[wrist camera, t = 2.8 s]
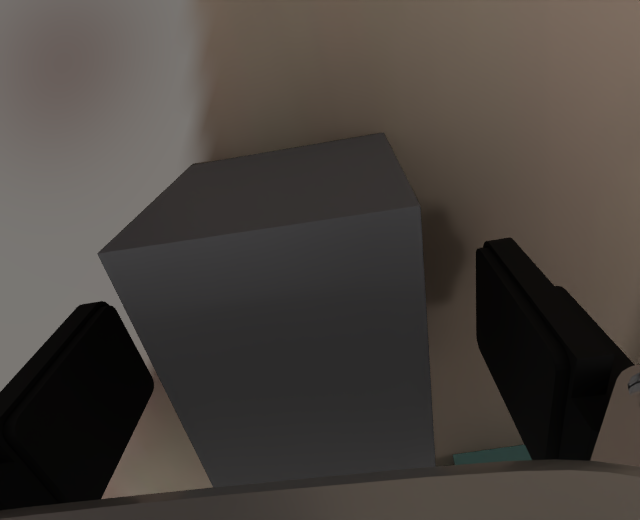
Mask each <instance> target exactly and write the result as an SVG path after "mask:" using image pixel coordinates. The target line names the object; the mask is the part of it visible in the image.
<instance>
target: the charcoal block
mask: <svg viewBox="0 0 640 520" xmlns="http://www.w3.org/2000/svg"><path fill="white" fill-rule="evenodd" d="M98 256H99V258H100V260H101V262H102V264H103V266H104V268H105V270H106V272H107V274H108V276H109V278H110V280H111V282H112V284H113V286H114V288H115V290H116V292H117V294H118V296H119V298H120V300H121V302H122V304H123V306H124V308H125V310H126V312H127V314H128V316H129V318H130V320H131V322H132V324H133V326H134V328H135V330H136V332H137V334H138V336H139V338H140V340H141V342H142V344H143V346H144V348H145V350H146V352H147V354H148V356H149V359H150V361H151V363H152V365H153V367H154V369H155V371H156V373H157V375H158V377H159V379H160V381H161V383H162V385H163V387H164V389H165V391H166V393H167V395H168V397H169V399H170V401H171V403H172V405H173V407H174V409H175V411H176V413H177V415H178V417H179V419H180V421H181V423H182V425H183V427H184V429H185V431H186V433H187V435H188V437H189V439H190V441H191V443H192V445H193V447H194V449H195V451H196V453H197V455H198V457H199V459H200V461H201V463H202V465H203V467H204V469H205V471H206V473H207V475H208V477H209V479H210V481H211V483H212V485H213V487H214V488H215V487H225V486H235V485H245V484H255V483H266V482H276V481H286V480H296V479H307V478H317V477H328V476H338V475H349V474H360V473H370V472H381V471H391V470H402V469H412V468H424V467H436V465H435V448H434V431H433V414H432V397H431V380H430V363H429V345H428V328H427V311H426V294H425V277H424V260H423V242H422V225H421V208H420V204H419V202H418V200H417V198H416V196H415V194H414V192H413V190H412V188H411V186H410V184H409V182H408V180H407V178H406V176H405V174H404V172H403V170H402V168H401V166H400V164H399V162H398V160H397V158H396V156H395V154H394V152H393V150H392V148H391V146H390V144H389V142H388V140H387V138H386V136H385V134H384V133H378V134H372V135H366V136H360V137H354V138H348V139H342V140H337V141H331V142H325V143H319V144H313V145H307V146H301V147H295V148H289V149H283V150H278V151H272V152H266V153H260V154H254V155H248V156H242V157H236V158H230V159H224V160H218V161H213V162H207V163H201V164H197V163H194V164H192V165H191V166H190V167H189V168H188V169H187V170H186V171H185V172H184V173H183V174H181V175H180V176H179V177H178V178H177V179H176V180H175V181H174V182H173V183H172V184H171V185H170V186H169V187H168V188H167V189H166V190H165V191H163V192H162V193H161V194H160V195H159V196H158V197H157V198H156V199H155V200H154V201H153V202H152V203H151V204H150V205H149V206H147V207H146V208H145V209H144V210H143V211H142V212H141V213H140V214H139V215H138V216H137V217H136V218H135V219H134V220H133V221H132V222H130V223H129V224H128V225H127V226H126V227H125V228H124V229H123V230H122V231H121V232H120V233H119V234H118V235H117V236H116V237H115V238H113V239H112V240H111V241H110V242H109V243H108V244H107V245H106V246H105V247H104V248H103V249H102V250H101V251H100V252H99V253H98Z"/></svg>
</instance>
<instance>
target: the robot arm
mask: <svg viewBox="0 0 640 520" xmlns="http://www.w3.org/2000/svg"><path fill="white" fill-rule="evenodd" d="M476 335H477V342H478V346H479V349H480V352H481V354H482V356H483V358H484V360H485V362H486V364H487V366H488V368H489V370H490V373H491V375H492V377H493V379H494V381H495V383H496V385H497V387H498V389H499V392H500V394H501V396H502V398H503V400H504V402H505V404H506V406H507V408H508V410H509V413H510V415H511V417H512V419H513V421H514V423H515V425H516V427H517V429H518V432H519V434H520V436H521V438H522V440H523V442H524V444H525V446H526V448H527V450H528V453H529V455H530V457H531V459H532V460H523V461H501V462H488V463H475V464H463V465H450V466H437V467H424V468H412V469H402V470H391V471H381V472H370V473H360V474H349V475H338V476H328V477H317V478H307V479H296V480H286V481H276V482H266V483H255V484H245V485H235V486H225V487H215V488H205V489H195V490H186V491H176V492H166V493H156V494H146V495H136V496H127V497H118V498H108V499H101V498H102V496H103V494H104V492H105V489H106V487H107V485H108V483H109V481H110V479H111V477H112V475H113V473H114V471H115V469H116V467H117V465H118V463H119V461H120V459H121V456H122V454H123V452H124V450H125V448H126V446H127V444H128V442H129V440H130V438H131V436H132V434H133V432H134V430H135V428H136V426H137V423H138V421H139V419H140V417H141V415H142V413H143V411H144V409H145V407H146V405H147V403H148V401H149V399H150V397H151V395H152V392H153V389H154V382H153V378H152V376H151V374H150V372H149V371H148V369H147V367H146V365H145V363H144V361H143V359H142V357H141V356H140V354H139V352H138V350H137V348H136V347H135V345H134V343H133V341H132V339H131V337H130V335H129V333H128V331H127V329H126V328H125V326H124V324H123V322H122V320H121V318H120V316H119V314H118V313H117V311H116V309H115V308H114V307H113V306H109V305H108V304H107V303H106V302H103V301H101V302H95V303H89V304H83V305H80V306H78V307H77V308H76V309H75V310H74V312H73V313H72V314H71V315H70V316H69V317H68V318H67V319H66V320H65V321H64V323H63V324H62V325H61V326H60V327H59V328H58V329H57V330H56V331H55V333H54V334H53V335H52V336H51V337H50V338H49V339H48V340H47V341H46V342H45V343H44V345H43V346H42V347H41V348H40V349H39V350H38V351H37V352H36V353H35V354H34V356H33V357H32V358H31V359H30V360H29V361H28V362H27V363H26V364H25V365H24V367H23V368H22V369H21V370H20V371H19V372H18V373H17V374H16V375H15V376H14V378H13V379H12V380H11V381H10V382H9V383H8V384H7V385H6V387H5V388H4V389H3V390H2V391H1V392H0V520H640V365H634V364H633V363H632V362H631V360H630V359H629V358H628V357H627V356H626V355H625V354H624V353H623V352H622V351H621V350H620V348H619V347H618V346H617V345H616V344H615V343H614V342H613V341H612V340H611V339H610V338H609V336H608V335H607V334H606V333H605V332H604V331H603V330H602V329H601V328H600V327H599V326H598V324H597V323H596V322H595V321H594V320H593V319H592V318H591V317H590V316H589V315H588V314H587V312H586V311H585V310H584V309H583V308H582V307H581V306H580V305H579V304H578V303H577V302H576V300H575V299H574V298H573V297H572V296H571V295H570V294H569V293H568V292H567V291H566V290H565V289H564V288H563V287H560V286H554V285H553V284H552V283H551V282H550V281H549V280H548V278H547V277H546V276H545V275H544V274H543V273H542V272H541V271H540V269H539V268H538V267H537V266H536V265H535V264H534V263H533V262H532V260H531V259H530V258H529V257H528V256H527V255H526V254H525V253H524V251H523V250H522V249H521V248H520V247H519V246H518V245H517V243H516V242H515V241H514V240H513V239H512V238H504V239H498V240H491V241H486V242H485V243H484V246H483V248H479V249H477V251H476Z"/></svg>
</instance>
